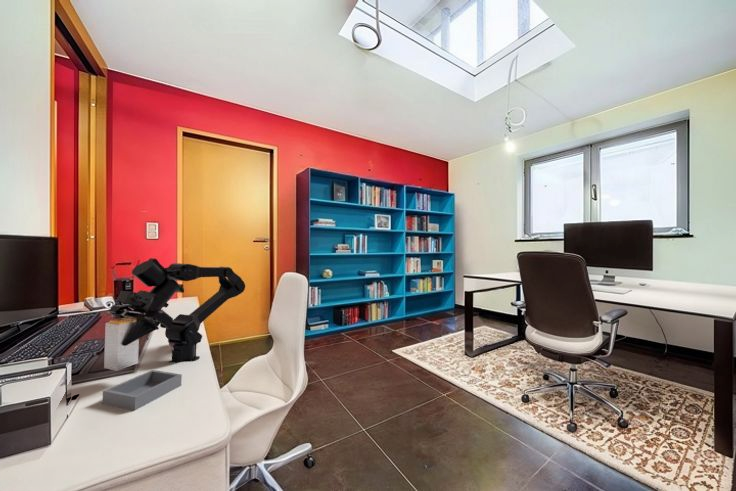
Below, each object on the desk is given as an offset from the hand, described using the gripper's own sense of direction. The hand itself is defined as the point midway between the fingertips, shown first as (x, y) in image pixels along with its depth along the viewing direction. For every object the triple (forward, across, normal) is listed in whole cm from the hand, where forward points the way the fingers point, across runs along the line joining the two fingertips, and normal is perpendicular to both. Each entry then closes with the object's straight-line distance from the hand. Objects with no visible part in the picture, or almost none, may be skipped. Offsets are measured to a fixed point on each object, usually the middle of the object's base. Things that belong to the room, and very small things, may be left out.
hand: (116, 343), depth 73 cm
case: (+9, +11, +9) cm, 17 cm away
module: (+4, 0, +6) cm, 7 cm away
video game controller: (-11, -13, +30) cm, 34 cm away
